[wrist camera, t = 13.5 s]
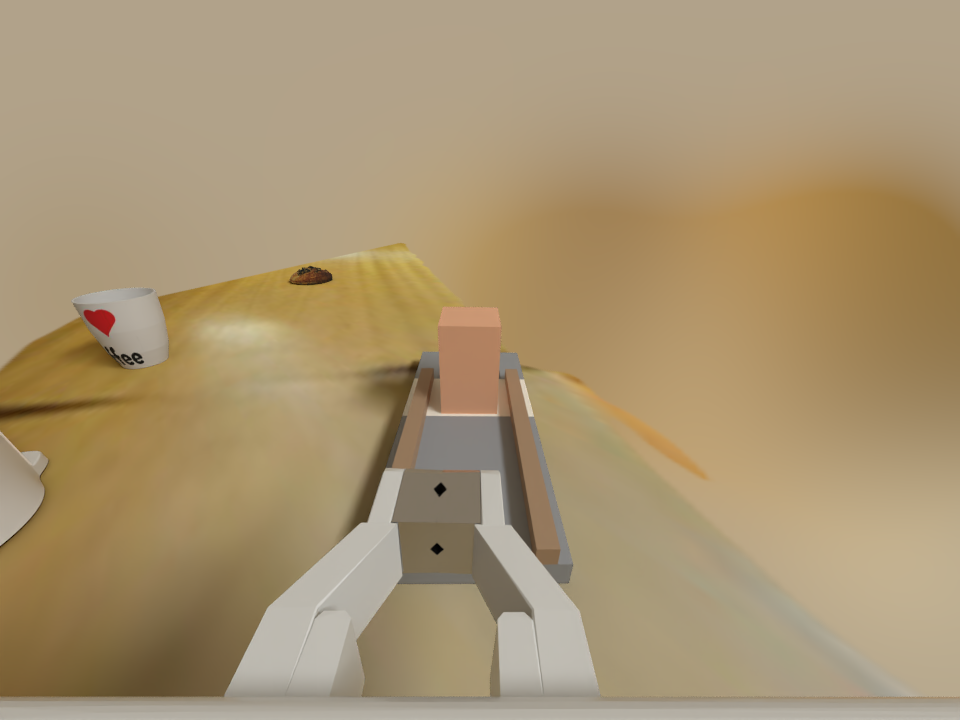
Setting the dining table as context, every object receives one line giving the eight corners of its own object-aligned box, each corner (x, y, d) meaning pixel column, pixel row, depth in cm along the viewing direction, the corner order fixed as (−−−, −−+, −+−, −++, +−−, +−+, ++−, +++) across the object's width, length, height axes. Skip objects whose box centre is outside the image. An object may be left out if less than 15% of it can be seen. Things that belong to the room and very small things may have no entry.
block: (441, 413, 36) (437, 326, 32) (445, 385, 42) (443, 306, 37) (496, 414, 36) (501, 326, 32) (494, 385, 42) (497, 307, 37)
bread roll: (336, 282, 94) (330, 264, 92) (293, 292, 90) (286, 274, 88) (330, 276, 103) (325, 259, 101) (291, 285, 99) (284, 267, 97)
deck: (358, 584, 22) (350, 549, 21) (423, 363, 51) (422, 342, 49) (568, 583, 23) (576, 549, 21) (516, 364, 51) (517, 343, 50)
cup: (95, 367, 48) (57, 299, 44) (161, 346, 55) (134, 285, 50) (129, 378, 45) (92, 307, 41) (194, 355, 52) (168, 291, 48)
